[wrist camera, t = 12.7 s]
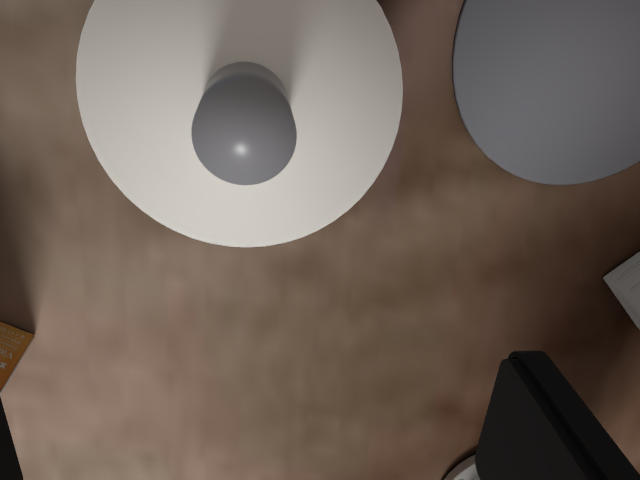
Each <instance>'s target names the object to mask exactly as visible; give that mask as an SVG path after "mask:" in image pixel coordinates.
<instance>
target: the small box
mask: <svg viewBox="0 0 640 480" xmlns="http://www.w3.org/2000/svg"><path fill="white" fill-rule="evenodd" d="M34 337H35V336H34V335H33V334H31V333H28V332H26V331H23V330H20V329H18V328H15V327H13V326H10V325H8V324H5V323H3V322H1V321H0V395H1V394H2V392H3V390H4V388H5V387H6V385H7V383H8V382H9V380H10V378H11V377H12V375H13V373H14V372H15V370H16V368H17V366H18V365H19V363H20V361H21V360H22V358H23V356H24V354H25V353H26V351H27V349H28V348H29V346H30V344H31V342H32V341H33V339H34Z"/></svg>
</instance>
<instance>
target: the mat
mask: <svg viewBox="0 0 640 480" xmlns="http://www.w3.org/2000/svg"><path fill="white" fill-rule="evenodd" d="M452 81H453V88H454V95H455V100H456V103H457V107H458V110H459V114H460V116H461V118H462V121H463V123H464V125H465V127H466V129H467V131H468V133H469V134H470V136H471V137H472V139H473V140H474V142H475V144H476V145H477V146H478V147H479V148H480V149H481V150H482V151H483V152H484V154H485V155H486V156H488V157H489V158H490V159H491V160H492V161H494V162H495V163H496V164H497V165H499V166H500V167H501V168H503V169H505V170H506V171H508V172H510V173H512V174H513V175H516V176H518V177H521V178H523V179H526V180H529V181H533V182H538V183H542V184H553V185H569V184H579V183H585V182H590V181H594V180H597V179H601V178H604V177H607V176H610V175H612V174H615V173H617V172H620V171H622V170H624V169H626V168H628V167H630V166H632V165H634V164H635V163H637V162H639V161H640V0H464V3H463V6H462V9H461V12H460V15H459V18H458V23H457V27H456V32H455V36H454V43H453V53H452Z"/></svg>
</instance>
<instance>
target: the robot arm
mask: <svg viewBox="0 0 640 480" xmlns="http://www.w3.org/2000/svg"><path fill="white" fill-rule="evenodd" d="M0 480H23V475H22V472H21V468H20V465H19V461H18V458H17V454H16V451H15V447H14V444H13V440H12V437H11V433H10V430H9V426H8V422H7V419H6V415H5V412H4V408H3V405H2V401H1V398H0ZM444 480H640V475H639V473H638V472H637V471H636V469H635V468H634V467H633V466H632V464H631V463H630V462H629V460H628V459H627V458H626V456H625V455H624V454H623V453H622V451H621V450H620V449H619V447H618V446H617V445H616V443H615V442H614V441H613V440H612V438H611V437H610V436H609V434H608V433H607V432H606V431H605V429H604V428H603V427H602V425H601V424H600V423H599V421H598V420H597V419H596V418H595V416H594V415H593V414H592V412H591V411H590V410H589V408H588V407H587V406H586V405H585V403H584V402H583V401H582V399H581V398H580V397H579V395H578V394H577V393H576V392H575V390H574V389H573V388H572V386H571V385H570V384H569V382H568V381H567V380H566V379H565V377H564V376H563V375H562V373H561V372H560V371H559V369H558V368H557V367H556V366H555V364H554V363H553V362H552V360H551V359H550V358H549V357H548V355H547V354H546V353H545V352H542V351H515V352H512V353H511V354H510V355H509V357H508V359H504V360H502V361H501V364H500V367H499V370H498V374H497V378H496V381H495V385H494V388H493V392H492V396H491V399H490V403H489V407H488V410H487V414H486V417H485V421H484V425H483V428H482V432H481V436H480V439H479V443H478V446H477V450H476V454H475V455H473V456H471V457H469V458H467V459H466V460H464V461H463V462H461V463H460V464H458V465H457V466H456V467H455V468H454V469H453V470H452V471H451V472H450V473H449V474H448V475H447V476H446V478H445V479H444Z"/></svg>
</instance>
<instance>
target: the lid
mask: <svg viewBox="0 0 640 480" xmlns="http://www.w3.org/2000/svg"><path fill="white" fill-rule="evenodd" d="M76 87H77V99H78V105H79V109H80V114H81V118H82V123H83V125H84V128H85V131H86V134H87V136H88V139H89V142H90V144H91V146H92V148H93V150H94V152H95V154H96V156H97V158H98V160H99V162H100V163H101V165H102V166H103V168H104V169H105V171H106V172H107V174H108V175H109V177H110V178H111V180H112V181H113V182H114V183H115V184H116V186H117V187H118V188H119V189H120V190H121V191H122V192H123V194H124V195H125V196H126V197H127V198H128V199H130V200H131V201H132V202H133V203H134V204H135V205H136V206H137V207H138V208H139V209H141V210H142V211H143V212H145V213H146V214H148V215H149V216H150V217H152V218H153V219H155V220H156V221H158V222H159V223H161V224H163V225H165V226H167V227H168V228H170V229H172V230H174V231H176V232H179V233H181V234H183V235H186V236H188V237H191V238H194V239H197V240H201V241H204V242H208V243H212V244H218V245H224V246H232V247H260V246H269V245H275V244H281V243H285V242H289V241H292V240H295V239H298V238H302V237H304V236H306V235H309V234H311V233H313V232H315V231H318V230H319V229H321V228H323V227H325V226H326V225H328V224H330V223H331V222H333V221H335V220H336V219H337V218H339V217H340V216H341V215H343V214H344V213H345V212H347V211H348V210H349V209H350V208H351V207H352V206H353V205H354V204H355V203H356V202H357V201H358V200H359V199H360V198H361V197H362V196H363V195H364V194H365V193H366V191H367V190H368V189H369V188H370V186H371V185H372V184H373V183H374V181H375V179H376V178H377V176H378V175H379V173H380V172H381V170H382V168H383V167H384V165H385V162H386V160H387V158H388V156H389V154H390V152H391V150H392V147H393V144H394V141H395V137H396V134H397V131H398V127H399V121H400V116H401V111H402V96H403V85H402V69H401V64H400V59H399V53H398V48H397V45H396V42H395V39H394V36H393V33H392V30H391V27H390V25H389V23H388V21H387V19H386V17H385V14H384V12H383V10H382V8H381V6H380V5H379V3H378V2H377V0H95V1H94V3H93V5H92V7H91V8H90V10H89V13H88V16H87V18H86V21H85V24H84V27H83V30H82V33H81V37H80V42H79V48H78V53H77V64H76Z"/></svg>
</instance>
